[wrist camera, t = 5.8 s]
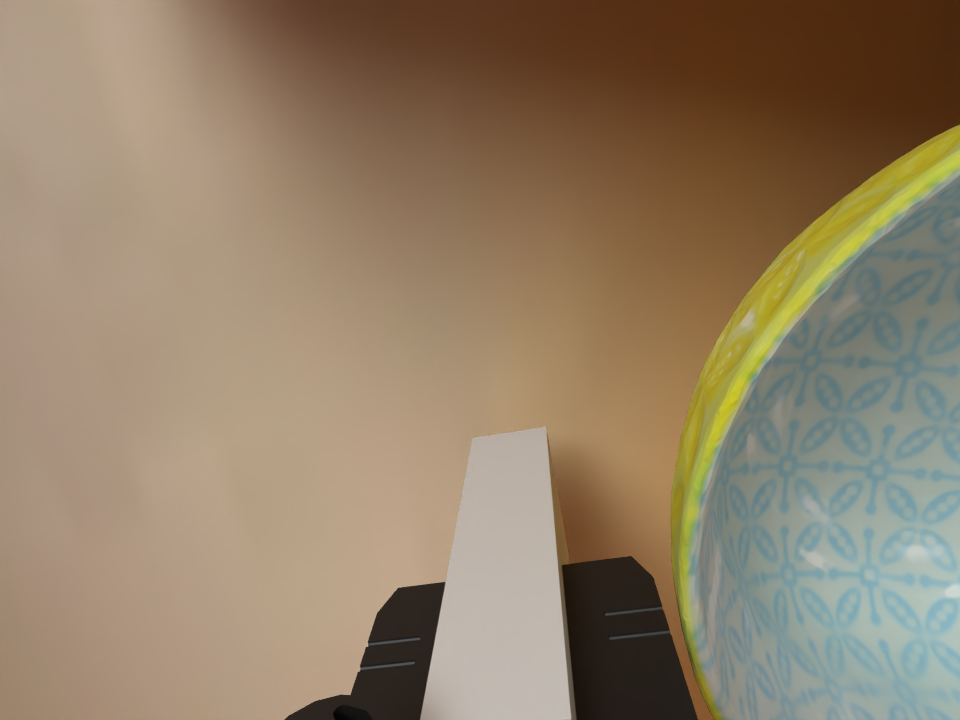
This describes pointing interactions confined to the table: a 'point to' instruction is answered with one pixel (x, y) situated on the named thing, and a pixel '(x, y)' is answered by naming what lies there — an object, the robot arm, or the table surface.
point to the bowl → (833, 467)
